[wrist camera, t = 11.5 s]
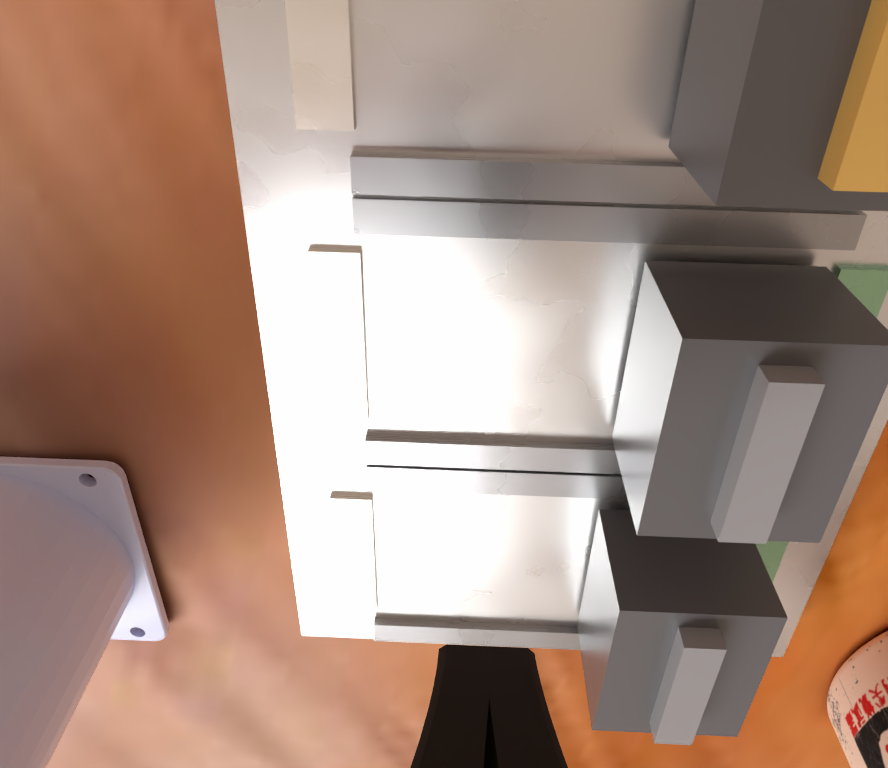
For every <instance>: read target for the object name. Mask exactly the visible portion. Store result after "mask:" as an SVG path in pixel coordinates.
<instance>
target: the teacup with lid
mask: <svg viewBox="0 0 888 768" xmlns="http://www.w3.org/2000/svg"><path fill="white" fill-rule="evenodd" d="M827 710H828V714H829V718H830V721H831V723H832V725H833V728H834V730H835V732H836V734H837V737H838V739H839V741H840V744H841V746H842V748H843V751H844V753H845V755H846V757H847V760H848V762H849V764H850V767H851V768H888V631H886V632H884V633H882V634H880V635H879V636H877V637H875V638H874V639H872V640H871V641H869V642H868V643H866V644H865V645H863V646H862V647H861V648H859V649H858V650H857V651H856V652H855V653H854V654H852V655H851V656H850V657H849V658H848V659H847V660H846V661H845V662H844V664H843V665H842V666H841V667H840V669H839V670H838V671H837V673H836V675H835V676H834V678H833V680H832V683H831V685H830V688H829V691H828V696H827Z"/></svg>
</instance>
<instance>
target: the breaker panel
mask: <svg viewBox="0 0 888 768" xmlns="http://www.w3.org/2000/svg"><path fill="white" fill-rule="evenodd" d="M695 2H696V0H215V7H216V14H217V22H218V29H219V36H220V44H221V51H222V58H223V66H224V73H225V80H226V87H227V95H228V102H229V109H230V117H231V124H232V131H233V139H234V146H235V153H236V161H237V168H238V175H239V182H240V190H241V197H242V204H243V212H244V219H245V226H246V234H247V241H248V248H249V255H250V263H251V270H252V277H253V285H254V292H255V299H256V307H257V314H258V321H259V329H260V336H261V343H262V350H263V358H264V365H265V372H266V380H267V387H268V394H269V402H270V409H271V416H272V423H273V431H274V438H275V445H276V453H277V460H278V467H279V475H280V482H281V489H282V496H283V504H284V511H285V518H286V526H287V533H288V540H289V548H290V555H291V562H292V570H293V577H294V584H295V591H296V599H297V606H298V613H299V621H300V628H301V635H302V636H320V637H342V638H365V639H375V641H390V642H413V643H435V644H458V645H481V646H503V647H526V648H549V649H571V650H581V649H580V642H579V635H578V628H577V624H578V619H579V613H580V608H581V603H582V597H583V592H584V587H585V581H586V576H587V570H588V565H589V560H590V554H591V549H592V544H593V538H594V533H595V527H596V522H597V517H598V511H599V509H604V510H628V511H630V507H629V503H628V499H627V495H626V491H625V487H624V483H623V479H622V475H621V471H620V468H619V464H618V460H617V456H616V452H615V448H614V444H613V440H612V436H613V431H614V425H615V420H616V414H617V409H618V404H619V398H620V393H621V388H622V382H623V377H624V371H625V366H626V361H627V355H628V350H629V345H630V339H631V334H632V328H633V323H634V318H635V312H636V307H637V301H638V296H639V291H640V285H641V280H642V275H643V269H644V264H645V261H673V262H703V263H733V264H763V265H793V266H823V267H827V268H828V269H829V270H830V271H831V272H832V273H833V274H834V275H835V276H836V277H837V278H838V279H839V280H840V281H841V282H842V283H843V284H844V285H845V286H846V287H847V288H848V290H849V291H850V292H851V293H852V294H853V295H854V296H855V297H856V298H857V299H858V300H859V301H860V302H861V303H862V304H863V305H864V306H865V307H866V308H867V309H868V310H869V311H870V312H871V313H872V314H873V315H874V316H875V317H876V318H877V319H878V320H879V321H880V322H881V323H882V324H883V325H884V326H885V327H886V328H887V330H888V211H863V210H831V209H800V208H768V207H737V206H715V204H714V203H713V202H712V201H711V199H710V198H709V197H708V196H707V194H706V193H705V192H704V191H703V189H702V188H701V187H700V186H699V184H698V183H697V182H696V181H695V180H694V178H693V177H692V176H691V175H690V173H689V172H688V171H687V170H686V168H685V167H684V166H683V165H682V163H681V162H680V161H679V160H678V158H677V157H676V156H675V155H674V153H673V152H672V151H671V150H670V148H669V147H668V146H669V140H670V135H671V130H672V124H673V119H674V114H675V108H676V103H677V98H678V92H679V87H680V82H681V76H682V71H683V66H684V60H685V55H686V50H687V44H688V39H689V34H690V28H691V23H692V18H693V12H694V7H695ZM887 420H888V385H887V387H886V389H885V392H884V394H883V396H882V399H881V401H880V404H879V406H878V408H877V411H876V413H875V415H874V418H873V420H872V422H871V425H870V427H869V429H868V432H867V434H866V436H865V439H864V441H863V443H862V446H861V448H860V450H859V453H858V455H857V457H856V460H855V462H854V464H853V467H852V469H851V471H850V474H849V476H848V478H847V481H846V483H845V485H844V488H843V490H842V492H841V495H840V497H839V499H838V502H837V504H836V506H835V509H834V511H833V513H832V516H831V518H830V520H829V523H828V525H827V527H826V530H825V532H824V535H823V537H822V539H821V542H820V543H808V542H784V541H767V543H766V544H756V546H757V549H758V551H759V553H760V555H761V558H762V560H763V562H764V565H765V567H766V569H767V571H768V574H769V576H770V578H771V581H772V583H773V585H774V587H775V590H776V592H777V594H778V596H779V599H780V601H781V603H782V606H783V608H784V610H785V612H786V615H787V617H788V619H787V621H786V623H785V626H784V628H783V630H782V633H781V635H780V637H779V640H778V642H777V644H776V647H775V649H774V651H773V654H772V656H774V657H783V655H784V653H785V651H786V649H787V646H788V644H789V642H790V640H791V637H792V635H793V633H794V630H795V628H796V626H797V624H798V621H799V619H800V617H801V615H802V612H803V610H804V608H805V606H806V603H807V601H808V599H809V597H810V594H811V592H812V590H813V587H814V585H815V583H816V581H817V578H818V576H819V574H820V572H821V569H822V567H823V565H824V563H825V560H826V558H827V556H828V553H829V551H830V549H831V547H832V544H833V542H834V540H835V538H836V535H837V533H838V531H839V529H840V526H841V524H842V522H843V520H844V517H845V515H846V513H847V510H848V508H849V506H850V504H851V501H852V499H853V497H854V495H855V492H856V490H857V488H858V486H859V483H860V481H861V479H862V476H863V474H864V472H865V470H866V467H867V465H868V463H869V461H870V458H871V456H872V454H873V452H874V449H875V447H876V445H877V443H878V440H879V438H880V436H881V433H882V431H883V429H884V427H885V424H886V422H887Z"/></svg>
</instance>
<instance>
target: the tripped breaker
mask: <svg viewBox="0 0 888 768" xmlns="http://www.w3.org/2000/svg"><path fill="white" fill-rule="evenodd" d="M668 147H669V148H670V150H671V151H672V152H673V153H674V155H675V156H676V157H677V158H678V160H679V161H680V162H681V163H682V165H683V166H684V167H685V168H686V170H687V171H688V172H689V173H690V175H691V176H692V177H693V178H694V180H695V181H696V182H697V183H698V184H699V186H700V187H701V188H702V189H703V191H704V192H705V193H706V194H707V196H708V197H709V198H710V199H711V201H712V202H713V203H714V204H715V206H737V207H768V208H800V209H831V210H863V211H888V0H696V2H695V7H694V12H693V18H692V23H691V28H690V34H689V39H688V44H687V50H686V55H685V60H684V66H683V71H682V76H681V82H680V87H679V92H678V98H677V103H676V108H675V114H674V119H673V124H672V130H671V135H670V140H669V146H668Z"/></svg>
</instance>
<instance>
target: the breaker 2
mask: <svg viewBox="0 0 888 768" xmlns="http://www.w3.org/2000/svg"><path fill="white" fill-rule="evenodd" d="M787 619H788V617H787V615H786V612H785V610H784V608H783V606H782V603H781V601H780V599H779V596H778V594H777V592H776V590H775V587H774V585H773V583H772V581H771V578H770V576H769V574H768V571H767V569H766V567H765V565H764V562H763V560H762V558H761V555H760V553H759V551H758V549H757V546H756V544H755V543H731V542H718V540H717V539H710V538H686V537H661V536H637V534H636V530H635V526H634V522H633V518H632V514H631V511H628V510H604V509H599V511H598V517H597V522H596V527H595V533H594V538H593V544H592V549H591V554H590V560H589V565H588V570H587V576H586V581H585V587H584V592H583V597H582V603H581V608H580V613H579V619H578V624H577V628H578V635H579V642H580V649H581V656H582V663H583V670H584V677H585V684H586V691H587V698H588V706H589V713H590V720H591V727H592V730H603V731H624V732H646V733H652V737H653V741H654V743H660V744H682V745H692V743H693V740H694V737H695V735H711V736H733V737H737V736H738V733H739V731H740V729H741V726H742V724H743V722H744V719H745V717H746V715H747V712H748V710H749V708H750V705H751V703H752V701H753V698H754V696H755V694H756V691H757V689H758V687H759V684H760V682H761V680H762V677H763V675H764V673H765V670H766V668H767V666H768V663H769V661H770V658H771V656H772V654H773V651H774V649H775V647H776V644H777V642H778V640H779V637H780V635H781V633H782V630H783V628H784V626H785V623H786V621H787Z"/></svg>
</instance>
